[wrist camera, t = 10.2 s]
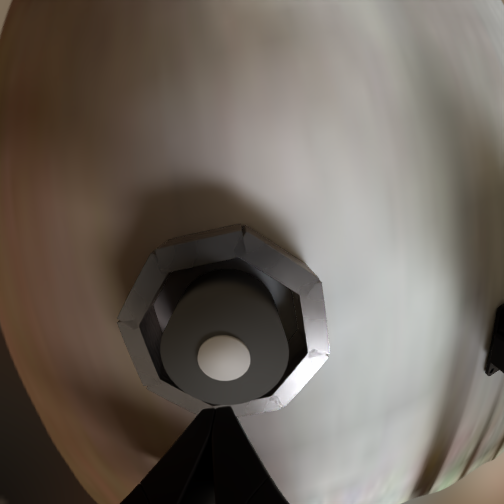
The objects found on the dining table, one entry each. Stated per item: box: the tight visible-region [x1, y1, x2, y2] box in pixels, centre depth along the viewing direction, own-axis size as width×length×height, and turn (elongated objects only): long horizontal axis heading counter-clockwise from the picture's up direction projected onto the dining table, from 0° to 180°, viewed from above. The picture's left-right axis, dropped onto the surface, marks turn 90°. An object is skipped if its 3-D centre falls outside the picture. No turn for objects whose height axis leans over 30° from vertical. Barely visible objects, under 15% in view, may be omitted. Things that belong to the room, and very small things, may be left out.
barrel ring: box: [117, 224, 330, 417], centre depth 13 cm, size 9×9×2 cm
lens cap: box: [160, 269, 289, 405], centre depth 13 cm, size 5×5×4 cm
